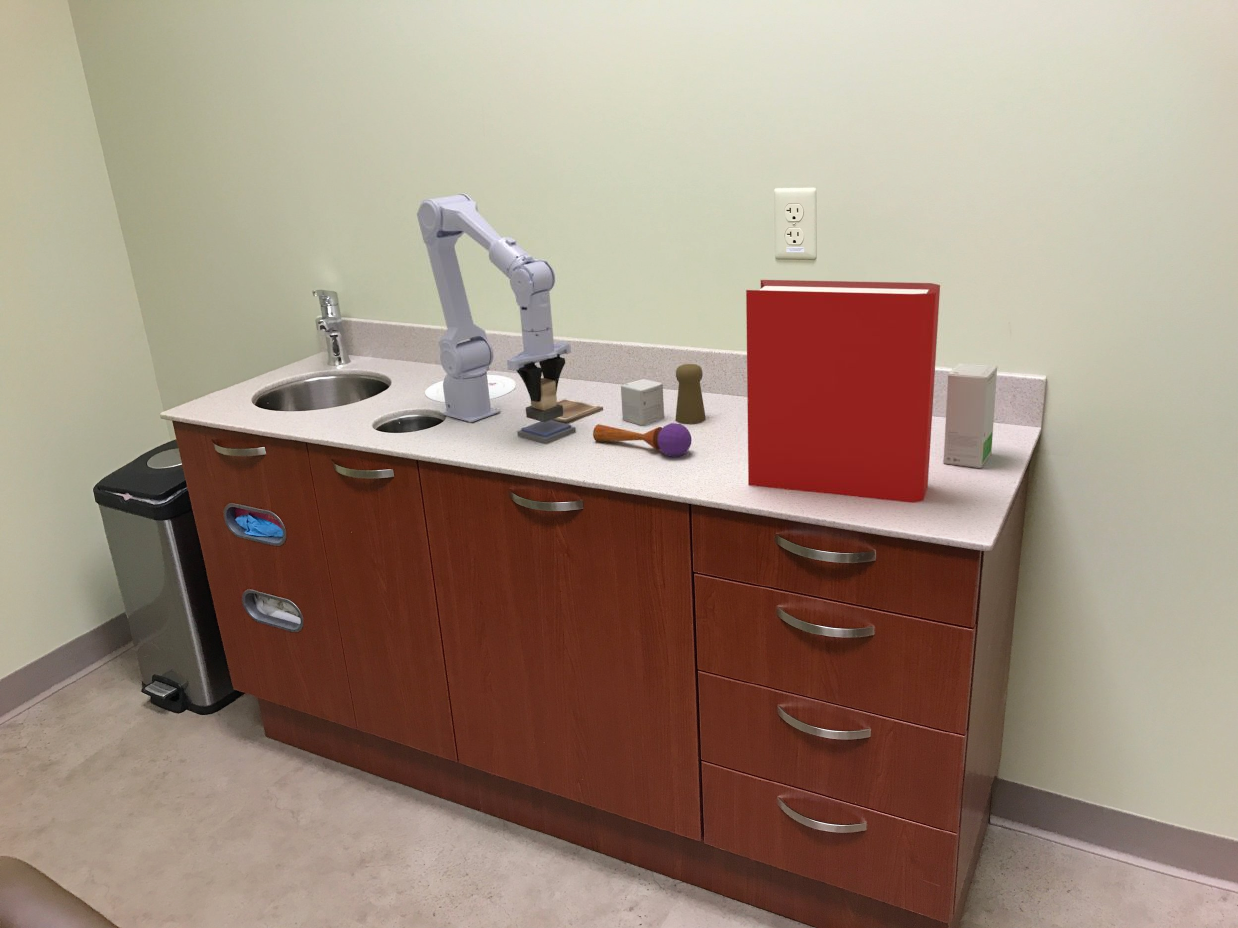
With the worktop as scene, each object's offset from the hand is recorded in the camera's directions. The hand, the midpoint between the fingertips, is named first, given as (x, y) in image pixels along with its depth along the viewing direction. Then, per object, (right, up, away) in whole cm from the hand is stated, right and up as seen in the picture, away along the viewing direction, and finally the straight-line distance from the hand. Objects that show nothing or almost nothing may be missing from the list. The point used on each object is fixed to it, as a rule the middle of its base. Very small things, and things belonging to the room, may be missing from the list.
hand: (543, 398), depth 184 cm
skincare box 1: (+19, -4, +8) cm, 21 cm away
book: (+50, -16, -29) cm, 59 cm away
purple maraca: (+19, -10, -7) cm, 22 cm away
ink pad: (0, -7, +3) cm, 7 cm away
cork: (+29, -4, +6) cm, 29 cm away
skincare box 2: (+73, -12, -21) cm, 77 cm away
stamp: (0, -3, +1) cm, 4 cm away
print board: (+3, -2, +15) cm, 15 cm away
